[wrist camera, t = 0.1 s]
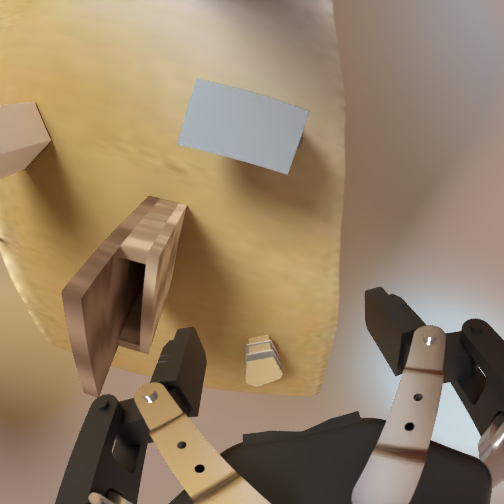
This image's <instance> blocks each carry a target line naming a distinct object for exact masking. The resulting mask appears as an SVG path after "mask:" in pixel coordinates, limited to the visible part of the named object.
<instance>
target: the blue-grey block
mask: <svg viewBox="0 0 504 504" xmlns="http://www.w3.org/2000/svg"><path fill="white" fill-rule="evenodd" d="M309 112H310V111H307V110H304V109H302V108H299V107H296V106H293V105H291V104H288V103H285V102H282V101H279V100H276V99H273V98H270V97H266V96H263V95H260V94H256V93H253V92H250V91H246V90H242V89H239V88H235V87H231V86H227V85H223V84H219V83H214V82H210V81H205V80H200V79H197V80H196V83H195V86H194V89H193V92H192V95H191V98H190V102H189V105H188V108H187V112H186V115H185V119H184V122H183V126H182V130H181V133H180V137H179V141H178V145H180V146H185V147H189V148H193V149H198V150H202V151H206V152H210V153H214V154H218V155H221V156H225V157H229V158H233V159H236V160H240V161H243V162H247V163H250V164H254V165H257V166H261V167H264V168H267V169H271V170H274V171H277V172H280V173H283V174H286V175H288V172H289V169H290V167H291V164H292V161H293V158H294V155H295V152H296V149H299V148H300V146H301V144H302V140H303V137H301V135H302V132H303V129H304V127H305V124H306V121H307V118H308V115H309Z"/></svg>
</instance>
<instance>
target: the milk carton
mask: <svg viewBox="0 0 504 504" xmlns="http://www.w3.org/2000/svg"><path fill="white" fill-rule="evenodd" d="M50 142H51V139H50V137H49V135H48V132H47V130H46V128H45V126H44V123H43V121H42V119H41V116H40V114H39V111H38V109H37V107H36V104H35V102H29V103H17V104H8V105H0V179H3V178H5V177H7V176H9V175H12V174H14V173H16V172H19V171H21V170H24V169H25V168H26V167H27V166H28V165H29V164H30V163H31V162H32V160H33V159H34V158H35V157H36V156H37V155H38V154H39V153H40V152H41V151H42V150H43V149H44V148H45V147H46V146H47V145H48V144H49V143H50Z"/></svg>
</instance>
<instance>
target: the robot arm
mask: <svg viewBox="0 0 504 504" xmlns="http://www.w3.org/2000/svg"><path fill="white" fill-rule="evenodd" d="M365 321H366V326H367V329H368V331H369V332H370V334H371V336H372V337H373V339H374V341H375V342H376V344H377V346H378V347H379V349H380V351H381V352H382V354H383V356H384V357H385V359H386V361H387V362H388V364H389V366H390V367H391V369H392V371H393V373H394V374H395V376H397V375H400V374H402V377H401V380H400V383H399V387H398V390H397V393H396V396H395V399H394V402H393V405H392V407H391V410H390V413H389V416H388V418H387V421H386V420H382V419H376V418H361V417H360V415H359V412H358V411H357V412H353V413H350V414H346V415H343V416H339V417H336V418H332V419H329V420H327V421H325V422H323V423H321V424H318V425H316V426H314V427H312V428H310V429H307V430H305V431H301V432H291V431H290V432H289V431H267V432H260V433H251V434H243V442H242V443H239V444H236V445H234V446H232V447H230V448H229V449H227V450H225V451H224V452H222V453H221V454H220V455H219V453H218V452H217V451H216V450H215V449H214V448H213V447H212V446H211V445H210V443H209V442H208V441H207V440H206V439H205V438H204V437H203V435H202V434H201V433H200V432H199V430H198V429H197V428H196V427H195V425H194V424H193V423H192V422H191V421H190V419H189V417H196V416H198V412H199V406H200V400H201V394H202V388H203V382H204V376H205V370H206V363H207V361H206V354H205V351H204V349H203V346H202V344H201V342H200V339H199V337H198V334H197V332H196V330H195V328H194V327H189V328H182V329H178V330H177V332H176V335H175V338H174V340H170V341H169V342H168V343H167V344H166V345H165V346H164V347H163V349H162V352H161V355H160V357H159V360H158V363H157V365H156V368H155V371H154V373H153V376H152V379H151V382H150V383H148V384H146V385H144V386H142V387H141V388H139V389H138V390H137V392H136V394H135V396H134V398H132V399H128V400H124V401H121V402H119V401H118V400H117V399H116V397H115V396H113V395H110V394H107V395H102V396H100V397H98V398H97V399H96V400H95V401H94V402H93V403H92V405H91V407H90V409H89V412H88V414H87V416H86V418H85V421H84V423H83V426H82V428H81V431H80V433H79V436H78V438H77V441H76V443H75V446H74V449H73V451H72V454H71V457H70V459H69V462H68V465H67V468H66V471H65V474H64V477H63V480H62V483H61V486H60V489H59V492H58V496H57V499H56V503H55V504H137V498H138V493H139V487H140V481H141V475H142V470H143V464H144V459H145V453H146V448H147V444H148V443H151V442H154V443H155V445H156V446H157V448H158V450H159V451H160V453H161V454H162V456H163V458H164V459H165V461H166V462H167V464H168V466H169V467H170V469H171V470H172V472H173V473H174V475H175V476H176V478H177V479H178V481H179V482H180V483H181V485H182V486H183V488H184V490H183V491H182V492H181V493H180V494H179V495H178V496H177V497H176V498H175V499H173V500H172V501H171V502H170V503H169V504H490V498H491V492H492V488H494V487H495V486H497V485H498V484H500V483H501V482H502V481H504V340H503V339H502V338H501V337H500V336H499V335H498V334H497V333H496V332H495V331H494V329H493V328H492V327H491V326H490V325H489V324H488V323H486V322H485V321H483V320H480V319H470V320H467V321H466V322H465V323H464V324H463V326H462V330H461V331H459V332H453V333H445V332H444V331H443V330H442V329H441V328H439V327H436V326H433V325H426V324H425V323H424V322H423V321H422V320H421V318H420V317H419V316H418V315H417V314H416V313H415V312H414V311H413V310H412V309H411V308H410V307H409V306H408V305H407V303H406V302H405V301H404V300H403V299H402V298H401V297H398V296H396V295H394V294H390V295H388V294H387V293H386V292H385V290H384V289H383V288H382V287H377V288H373V289H370V290H366V291H365ZM478 367H480V369H481V370H482V371H483V373H484V374H485V376H486V377H485V376H484V374H483V373H482V372H481V370H480V369H479V368H478ZM447 382H451V384H452V386H453V387H454V389H455V391H456V392H457V394H458V396H459V397H460V399H461V401H462V402H463V404H464V406H465V408H466V409H467V411H468V413H469V414H470V416H471V418H472V420H473V422H474V424H475V426H476V428H477V429H478V431H479V433H480V435H481V439H480V440H479V444H478V451H479V458H480V459H478V458H476V457H473V456H471V455H468V454H465V453H462V452H460V451H457V450H454V449H451V448H449V447H446V446H444V445H441V444H439V443H437V442H434V441H431V436H432V432H433V428H434V424H435V420H436V416H437V411H438V406H439V401H440V396H441V390H442V384H443V383H447ZM115 440H116V443H115V446H114V450H113V453H112V448H113V444H114V441H115Z"/></svg>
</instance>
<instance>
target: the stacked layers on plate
mask: <svg viewBox="0 0 504 504" xmlns="http://www.w3.org/2000/svg"><path fill="white" fill-rule="evenodd" d="M248 341H249V344H246V355H245V365H246V369H245V374H246V379H245V380H246V382H247V384H249V385H254V386H261V385H264V384H267V383H270V382H273V381H275V380H278V379H280V378H281V377H282V375H283V373H282V371H281V369H282V367H281V364H280V362H279V361H280V356H279V354H278V352H277V350H276V348H275V346H274V344H273V342H272V341H271V340H270V338H269V335H264V336H259V337H254V338H248Z"/></svg>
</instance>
